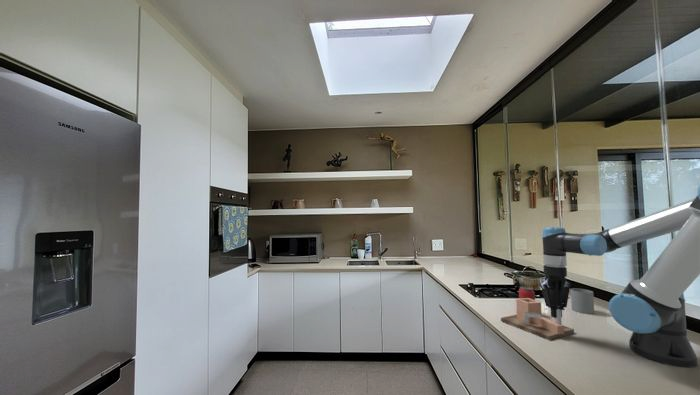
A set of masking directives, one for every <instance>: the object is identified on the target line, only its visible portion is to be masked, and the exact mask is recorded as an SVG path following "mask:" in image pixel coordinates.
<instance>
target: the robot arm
mask: <svg viewBox="0 0 700 395" xmlns="http://www.w3.org/2000/svg"><path fill="white" fill-rule="evenodd" d="M675 232H677V233H676V234H675V235H674V237H673V238H672V239H671V240H670V241H669V243H668V244H667V246H666V247H664V249H663V250H662V252H661V253H660V254H659V255H658V257H657V258H656V259H655V261H654V262H653V263H652V265H651V266H650V267H649V268H648V270H646V271H645V273H644V274H643V276H642V277H641V278H640V279H631V280H630V281H629V282H628V284H627V285H626V286H625V287H624V289H623V290H622V292H620V293H617V294H615V295H614V296H612V298H611V299H610V300H609V303H608V310H609V312H610V314H611V316H612V319H614V321H615V322H616V323H617V324H619V325H620V326H621V327H623V328H624V329H626V330H628V331H630V332H632V333H631V335H630V338H629V340H628V345H629V349H630V350H631V351H632V352H634V353H635V354H637V355H639V356H642V357H644V358H647V359H648V360H652V361H655V362H659V363H661V364H666V365H670V366H676V367H681V368H682V367H683V368H694V367H698V365H699V364H698V363H699V362H698V356H697V354H696V352H695V350H694V348H693V346H692V344H691V342H690V340H689V338H688V333H687V331H688V330H687V319H686V318H687V317H686V304H685V303H686V299H685V296H684V293H685V291H687V289H688V288H689V287H690V286H691V285H692V284H693V282H694V281H695V280H696V279H697V278H698V277H699V276H700V184H699V185H698V188H697V194H696V196H695V198H692V199H688V200H686V201H684V202H681V203H679V204H675V205H671V206H669V207H666V208H663V209H661V210H658V211H655V212H652V213H650V214H647V215H644V216H641V217H638V218H636V219H634V220H633V219H632V220H630V221H627V222H624V223H621V224H619V225H616V226H613V227H611V228H608V229H605V230H602V231H598V232H595V233H574V232H573V233H571V232H566V228H565V227H559V226H558V227H557V226H547V227H543V228H542V237H541V239H542V256H543V257H542V260H543V266H542V267H543V268H542V269H543V274H544V275H545V277H544V281H543V282H540V283H539V284H538V286H540V288H541V292H542V295H543V296H542V297H543V300H544V304H545V306H546V307H548V308H549V309H550V316H551V320H552V321H554V322H556V323H559V324H561V325H563V324H562V317H563V311H565V310H566V309H565V308H567V307H568V301H569V295H570V290H571V287H572V283H570V282H568V281H567V279H566V277H568V276H567V275H568V270H567V266H568V265H567V263H568V262H567V253H571V254H579V255H585V256H587V255H588V256H590V257H591V256H595V257H596V256H597V257H602V256H603V255H605V253H606V254H607V253H610V252H611V253H612V252H614V251H616V250H618V249H621V248H624V247H625V248H626V247H628V246H632V245H634V244H637V243H642V242H644V241H647V240H652V239H655V238H659V237H661V236H664V235H668V234H672V233H675Z"/></svg>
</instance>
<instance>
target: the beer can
mask: <svg viewBox="0 0 700 395" xmlns="http://www.w3.org/2000/svg"><path fill="white" fill-rule="evenodd" d="M522 298H530V299H533V300H535V301H536V292H535V289H534V288H533V287H530V286H525V285H523V286H522V285H521V286H519V289H518V299H522Z"/></svg>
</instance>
